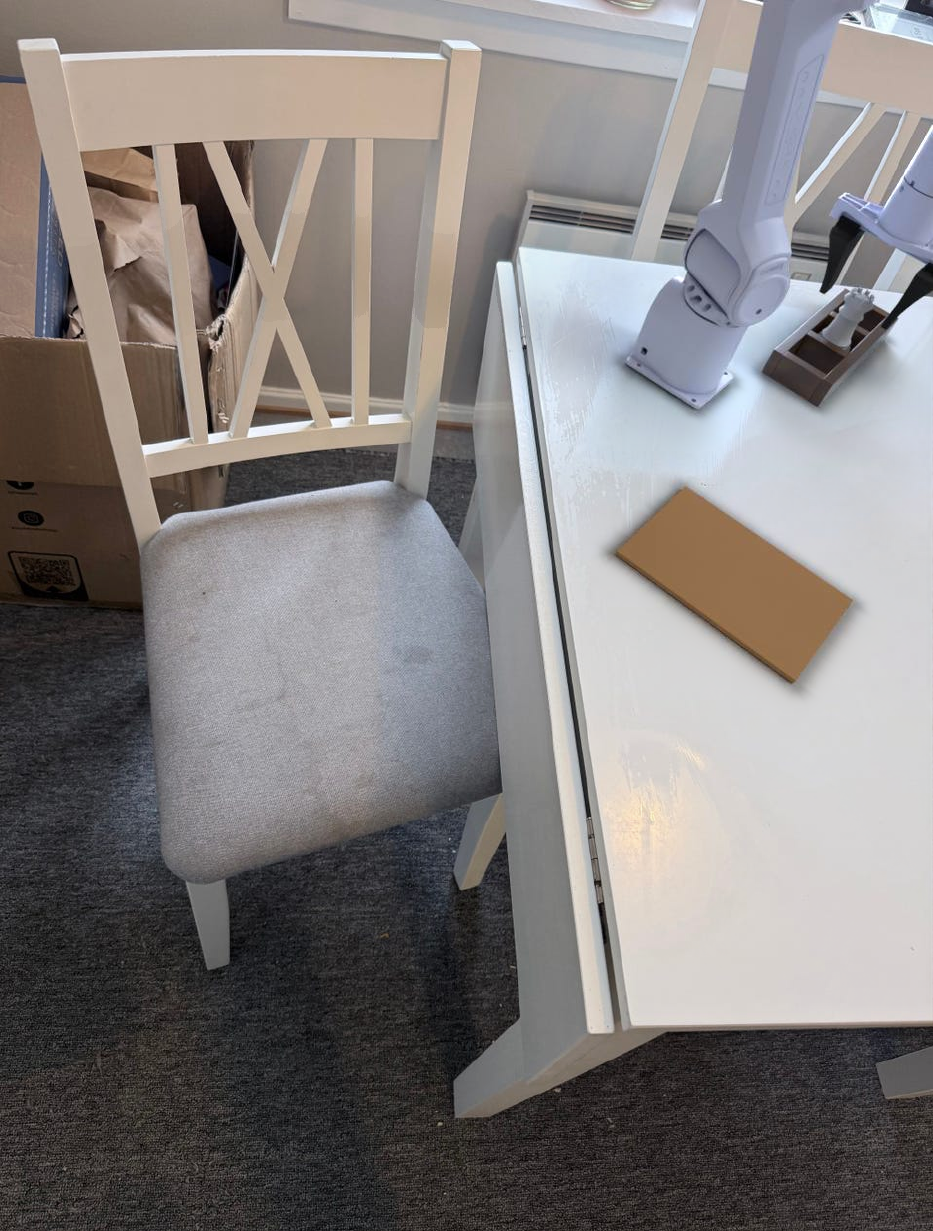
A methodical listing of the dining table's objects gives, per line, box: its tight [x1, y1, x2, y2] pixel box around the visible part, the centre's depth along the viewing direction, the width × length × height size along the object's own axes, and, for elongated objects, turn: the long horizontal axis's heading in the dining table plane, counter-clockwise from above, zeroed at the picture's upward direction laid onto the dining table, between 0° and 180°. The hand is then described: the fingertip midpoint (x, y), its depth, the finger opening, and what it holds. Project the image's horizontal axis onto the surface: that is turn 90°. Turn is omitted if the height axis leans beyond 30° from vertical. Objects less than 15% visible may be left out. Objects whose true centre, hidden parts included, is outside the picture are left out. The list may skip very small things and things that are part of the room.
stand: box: [761, 287, 899, 407], centre depth 96 cm, size 7×20×3 cm, turn 140°
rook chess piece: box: [818, 286, 876, 352], centre depth 94 cm, size 4×4×8 cm
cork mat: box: [615, 485, 854, 684], centre depth 74 cm, size 18×12×1 cm, turn 50°
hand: (855, 307), depth 92 cm, fingers open, 7 cm apart
